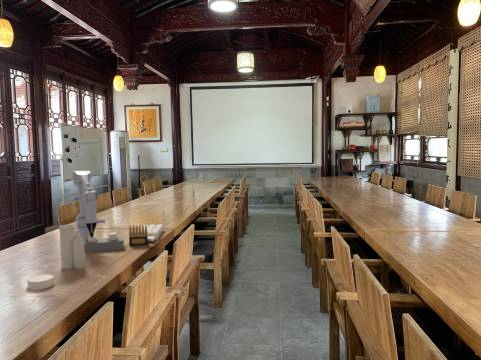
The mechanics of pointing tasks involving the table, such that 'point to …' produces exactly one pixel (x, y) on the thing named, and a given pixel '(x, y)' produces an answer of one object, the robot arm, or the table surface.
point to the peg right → (112, 236)
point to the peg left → (91, 239)
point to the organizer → (152, 231)
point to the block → (103, 245)
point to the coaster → (40, 282)
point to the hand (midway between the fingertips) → (92, 236)
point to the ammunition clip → (139, 239)
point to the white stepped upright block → (71, 248)
